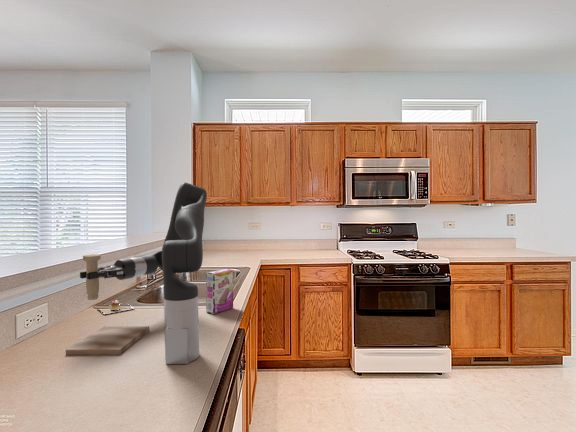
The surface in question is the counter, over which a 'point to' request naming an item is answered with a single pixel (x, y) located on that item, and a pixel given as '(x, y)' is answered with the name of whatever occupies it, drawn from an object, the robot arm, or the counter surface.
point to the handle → (92, 284)
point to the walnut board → (108, 341)
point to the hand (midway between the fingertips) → (84, 275)
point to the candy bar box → (219, 291)
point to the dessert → (117, 307)
